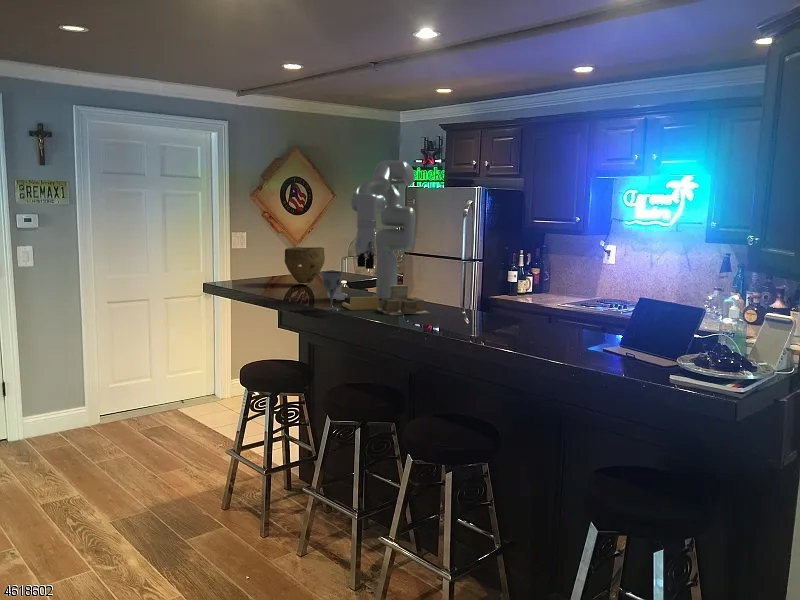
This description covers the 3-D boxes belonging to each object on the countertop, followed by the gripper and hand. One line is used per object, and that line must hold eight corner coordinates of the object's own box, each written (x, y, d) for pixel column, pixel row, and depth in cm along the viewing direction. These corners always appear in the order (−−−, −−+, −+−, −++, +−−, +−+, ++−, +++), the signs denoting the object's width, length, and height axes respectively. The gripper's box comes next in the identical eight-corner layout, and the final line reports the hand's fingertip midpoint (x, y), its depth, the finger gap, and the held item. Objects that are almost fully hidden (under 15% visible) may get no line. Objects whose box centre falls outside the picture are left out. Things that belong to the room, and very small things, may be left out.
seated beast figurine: (344, 301, 287) (344, 273, 285) (324, 300, 287) (325, 273, 286) (348, 298, 296) (348, 272, 294) (329, 297, 297) (329, 271, 295)
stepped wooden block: (376, 309, 264) (377, 285, 263) (414, 308, 271) (415, 284, 270) (390, 315, 251) (391, 289, 249) (430, 314, 257) (431, 288, 256)
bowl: (297, 288, 324) (298, 248, 322) (276, 284, 339) (277, 246, 337) (332, 286, 338) (332, 248, 335) (310, 282, 353) (311, 245, 350)
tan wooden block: (342, 306, 271) (342, 294, 271) (369, 305, 276) (369, 293, 276) (351, 310, 261) (351, 297, 261) (378, 309, 266) (379, 297, 265)
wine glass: (338, 311, 257) (338, 273, 255) (318, 309, 259) (319, 272, 257) (343, 308, 265) (344, 271, 263) (325, 307, 267) (325, 270, 265)
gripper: (350, 224, 266) (349, 266, 268) (365, 225, 250) (363, 269, 252) (367, 224, 269) (366, 266, 271) (383, 225, 253) (381, 269, 255)
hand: (365, 267), depth 262 cm, fingers open, 9 cm apart
